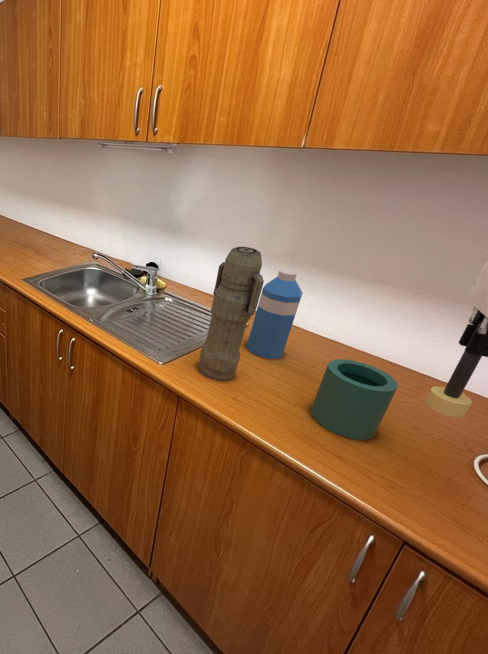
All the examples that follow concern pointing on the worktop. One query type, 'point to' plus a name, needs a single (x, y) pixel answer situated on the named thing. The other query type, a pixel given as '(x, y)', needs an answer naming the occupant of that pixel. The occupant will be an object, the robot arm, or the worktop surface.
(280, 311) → the water bottle
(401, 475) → the worktop surface
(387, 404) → the teal hollow cylinder
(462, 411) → the joystick
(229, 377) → the thermos
